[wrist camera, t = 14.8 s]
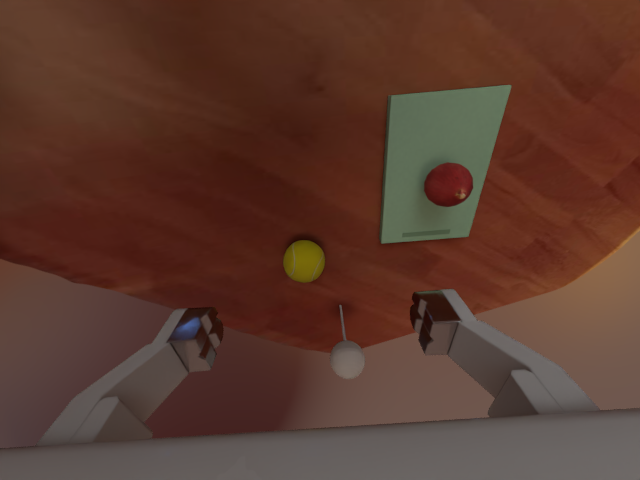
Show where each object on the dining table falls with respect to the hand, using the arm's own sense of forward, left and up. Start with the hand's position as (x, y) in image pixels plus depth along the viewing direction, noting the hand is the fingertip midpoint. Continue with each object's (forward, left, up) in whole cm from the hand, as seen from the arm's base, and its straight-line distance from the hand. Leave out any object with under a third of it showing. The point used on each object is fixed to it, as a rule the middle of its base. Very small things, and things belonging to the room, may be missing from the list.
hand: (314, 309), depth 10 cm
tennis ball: (+16, -3, -29) cm, 34 cm away
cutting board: (+4, +18, -29) cm, 34 cm away
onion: (+4, +18, -28) cm, 33 cm away
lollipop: (+31, +3, -29) cm, 43 cm away
